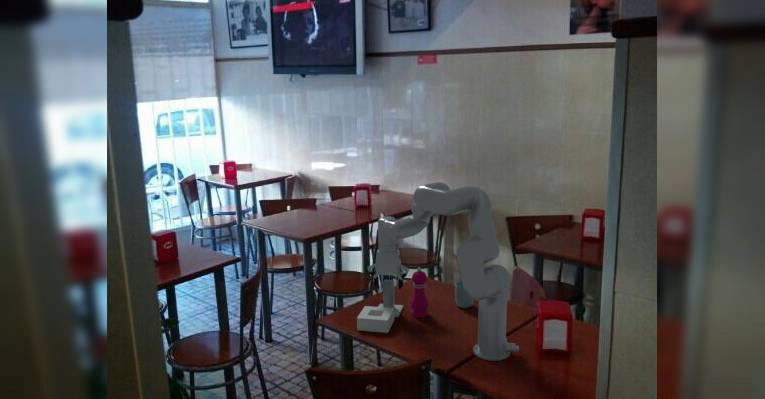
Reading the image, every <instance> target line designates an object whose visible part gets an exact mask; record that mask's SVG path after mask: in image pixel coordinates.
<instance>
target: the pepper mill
mask: <svg viewBox="0 0 765 399" xmlns="http://www.w3.org/2000/svg"><path fill="white" fill-rule="evenodd" d="M422 269H423V268H421V267H417V268H416V271H414V272H413V273H412V274H411V275H412V276H411V281H412V282H413V283H412V284H413V286H412V287H413V288H414V293H413V296H412V298H411V301H410V308H411V315H412V317H415V318H418V319H419V318H420V319H422V318H425V317H427V316H428V310H427V309H428V308H429V301H428V300H429V299H428V298H427V295H426V293H425V288H426V287H427V286H426V282H427V278H428V277H427V274H426V272H425V271H422Z"/></svg>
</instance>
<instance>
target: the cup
mask: <svg viewBox="0 0 765 399" xmlns="http://www.w3.org/2000/svg"><path fill="white" fill-rule="evenodd" d="M454 297H455V304H456V305H457V306H458V307H459V308H460V309H468V308H470V307H472V306H473V304H474V301H475V300H473V299H471V298H470V297H469V296H468V295H467V294H466V292H465V289H464V286H463V282H462V280H458V281H456V282H455V284H454Z"/></svg>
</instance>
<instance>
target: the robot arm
mask: <svg viewBox="0 0 765 399" xmlns="http://www.w3.org/2000/svg"><path fill="white" fill-rule="evenodd" d="M412 199H413V202H412V203H411V206H410V210H411V212H412V215H411V216H410V217H406V218H405V217H404V218H401V219H398V220H397V219H396V218H395V217H393V216H389V215H388V216H381V217H379V218H378V221H377V236H378V237H377V239H378V240H377V242H378V248H377V250H376V255H375V263H373V264H371V265H368V266H367V271H368V272H369V275H371V276H372V278H373V285H374V286H375V289H378V287H379V286H380V281H379V280H380V278H379V275H380V276H396V277H397V278H398V290H401V289H402V288H403V287H404V278H406V277H407V275H408V273H409V271H410V268H408V267H407V266H404V265H403V264H402V259H401V252H400V249H401V247H402V245H400V244H398V241H400V240H404V239H407V238H411V237H414V236H417V235H418V234H420V233H422V232H423V230H424V229H425V228H427V226H428V225H429V224H430V220H431V217H432V216H433V215H435V214H438V215H441V216H454V215H458V214H461V213H465V212H469V216H468V219H467V220H468V221H467V222H468V225H467V226H468V230H469V233H470V234H469V235H470V236H469V238H467V239H465V240H463V241H462V242H460V244H459V245H458V247H457V252H456V258H457V263H458V268H459V273H460V277H461V281H462V282H463V286H464V289H465V292H466V294H467V295H468V296H469V297H470V298H471V299H473V300H474V301H475V302H476V301H477V302H478V311H477V312H478V315H477V317H478V318H477V319H478V322H477V344H475V345H474V346H473V348H472V349H473V354H474V355H475V357H477V358H480V359H482V360H484V361H490V362H491V361H492V362H496V361H503V360H506V359H508V358H509V357H510V356H511V352H516V353H518V352H520V345H516V343H515V342H514V343H513V342H508V338H507V314H508V312H507V310H508V296H509V291H510V287H511V275H510V273H509V271H508V269H507V268H506V267H505V266H503V265H500V264H497V263H496V264H490V265H487V266H485V267H484V264H487V263H490V262H492V261H494V260H496V259H497V258H498V257H499V255H500V246H499V242H498V241H499V240H498V237H497V236H498V235H497V232H496V228H495V223H494V219H493V210H492V204H491V200H490V198H489V195H488V194H487V193H486V192H485V191H484V189H482V188H480V187H477V186H474V185H469V186H467V185H466V186H462V187H457V188H453V189H451V188H450V186H449V185H448V184H446V183H445V182H441V181H440V182H439V181H436V182H431V183H427V184H422V185H419V186H418V187H417V188H416V189H415V191H414V193H413V197H412ZM374 268H375V271H374V270H373V269H374ZM402 270H403V271H404V273H402Z"/></svg>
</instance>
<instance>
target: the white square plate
mask: <svg viewBox="0 0 765 399" xmlns="http://www.w3.org/2000/svg"><path fill="white" fill-rule="evenodd" d="M377 307H383V303H379V304H378V306H377ZM403 309H404V304H403V305H402V304H395V308H394V318H399V317H400V315H401V313H402V311H403Z"/></svg>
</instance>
